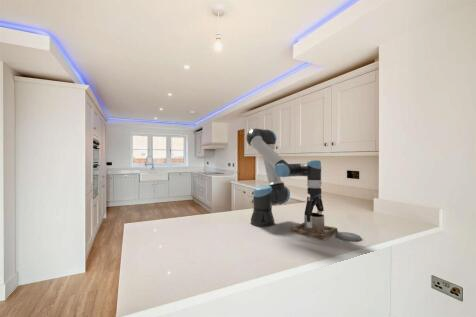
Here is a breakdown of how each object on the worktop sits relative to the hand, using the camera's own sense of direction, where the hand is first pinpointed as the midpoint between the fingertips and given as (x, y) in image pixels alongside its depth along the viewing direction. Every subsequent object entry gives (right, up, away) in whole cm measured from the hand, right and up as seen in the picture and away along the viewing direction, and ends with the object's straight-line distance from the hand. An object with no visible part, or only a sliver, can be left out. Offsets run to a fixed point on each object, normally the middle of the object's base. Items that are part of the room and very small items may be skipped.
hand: (314, 224), depth 125 cm
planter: (0, -4, 0) cm, 4 cm away
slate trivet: (+14, -4, -9) cm, 17 cm away
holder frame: (0, -4, 0) cm, 4 cm away
